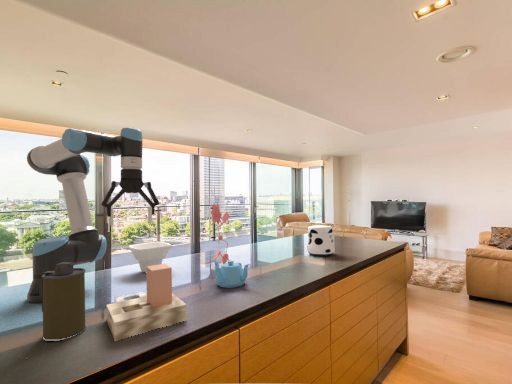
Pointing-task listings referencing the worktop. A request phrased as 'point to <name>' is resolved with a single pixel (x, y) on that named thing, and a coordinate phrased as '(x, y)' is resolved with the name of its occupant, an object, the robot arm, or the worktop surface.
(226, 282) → the teapot
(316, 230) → the milk container
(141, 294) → the frame
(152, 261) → the bowl
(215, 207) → the pink leafy branch
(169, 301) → the stud block
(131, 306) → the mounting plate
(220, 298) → the worktop surface
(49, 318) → the canister
